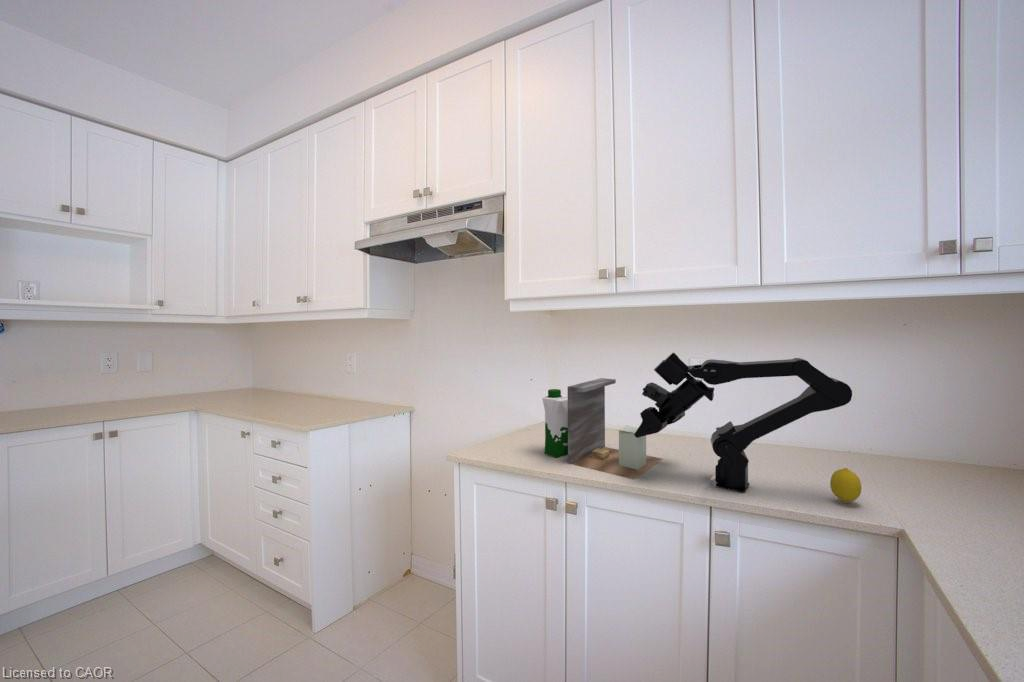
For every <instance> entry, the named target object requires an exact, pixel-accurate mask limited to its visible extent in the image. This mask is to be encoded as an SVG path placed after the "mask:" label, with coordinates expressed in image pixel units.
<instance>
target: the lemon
mask: <svg viewBox="0 0 1024 682" xmlns="http://www.w3.org/2000/svg"><path fill="white" fill-rule="evenodd" d="M829 484H830V487H829V488H830V489H831V492H832V494H833V495H834V496H835V497H836V498H837V499H839V500H840V501H841V502H842V503H844V502H846V503H845V504H847V503H849V502H853V501H856V500H858V498H859V497H860V496H861V493H862V482H861V480H860V477H859V476H858V475H857V474H856V473H855V472H854V471H852V470H850V469H849V468H847V467H843V468H841V469H837V470H835V471H834V472H833V473H832V474H831V477H830V482H829Z"/></svg>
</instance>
